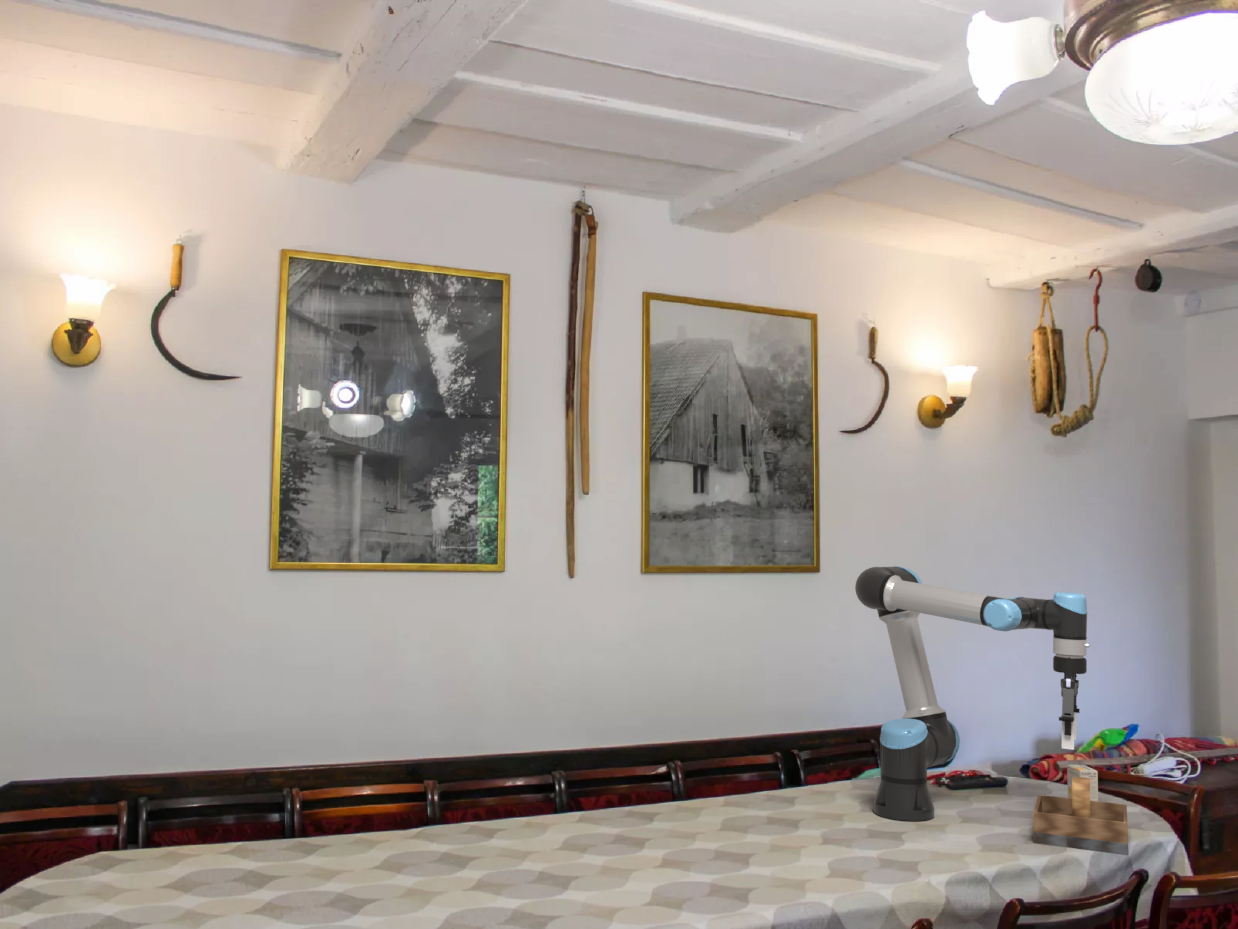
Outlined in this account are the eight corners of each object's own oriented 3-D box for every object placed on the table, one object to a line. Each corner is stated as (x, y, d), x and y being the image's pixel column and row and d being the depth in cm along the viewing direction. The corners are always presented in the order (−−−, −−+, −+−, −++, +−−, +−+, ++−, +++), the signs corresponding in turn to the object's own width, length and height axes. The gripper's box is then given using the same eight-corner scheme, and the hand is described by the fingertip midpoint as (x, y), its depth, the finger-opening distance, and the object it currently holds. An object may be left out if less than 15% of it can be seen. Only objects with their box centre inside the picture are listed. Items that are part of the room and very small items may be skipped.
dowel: (1072, 839, 248) (1071, 779, 249) (1072, 835, 252) (1072, 776, 253) (1090, 841, 246) (1089, 781, 248) (1091, 837, 250) (1090, 778, 251)
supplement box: (1099, 823, 263) (1098, 770, 264) (1080, 823, 263) (1079, 770, 264) (1085, 815, 271) (1085, 764, 272) (1067, 814, 271) (1066, 763, 272)
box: (1033, 842, 244) (1033, 812, 245) (1038, 823, 263) (1038, 794, 263) (1128, 855, 236) (1127, 823, 236) (1127, 833, 254) (1126, 804, 254)
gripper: (1084, 662, 242) (1084, 755, 241) (1088, 652, 264) (1087, 737, 263) (1050, 659, 245) (1049, 751, 244) (1056, 650, 268) (1055, 733, 266)
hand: (1069, 744), depth 253 cm, fingers open, 13 cm apart
